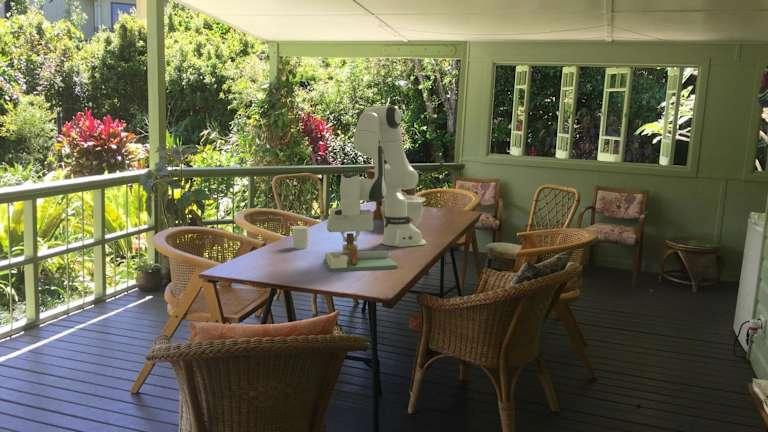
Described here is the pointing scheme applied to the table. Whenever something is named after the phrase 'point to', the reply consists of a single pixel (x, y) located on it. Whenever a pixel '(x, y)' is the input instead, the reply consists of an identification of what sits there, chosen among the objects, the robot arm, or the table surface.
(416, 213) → the chamber pot
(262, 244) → the table surface
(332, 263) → the pitch
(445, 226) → the table surface
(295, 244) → the white cup
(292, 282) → the table surface
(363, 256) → the rail
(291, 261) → the table surface
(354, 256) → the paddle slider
